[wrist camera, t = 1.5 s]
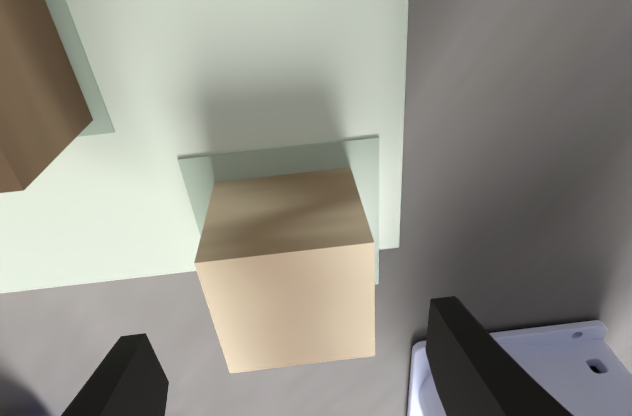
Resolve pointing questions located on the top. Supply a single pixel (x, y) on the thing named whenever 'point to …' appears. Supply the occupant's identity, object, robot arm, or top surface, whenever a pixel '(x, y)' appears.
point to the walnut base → (34, 94)
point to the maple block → (289, 270)
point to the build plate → (206, 127)
